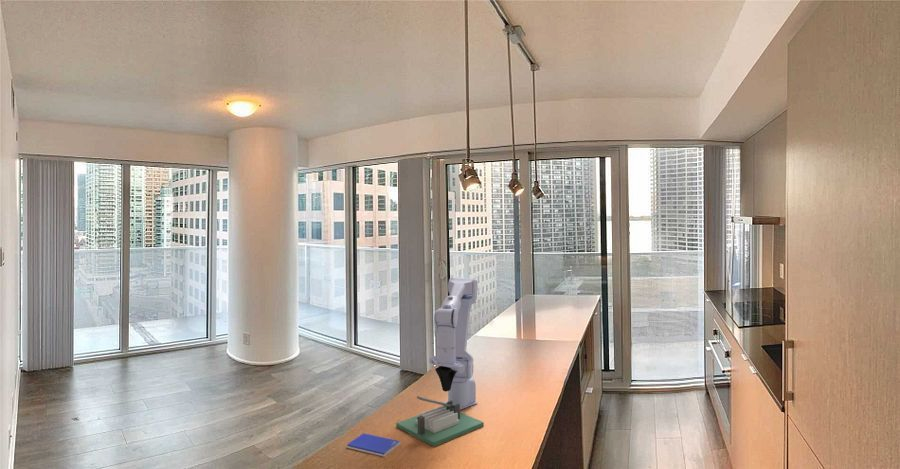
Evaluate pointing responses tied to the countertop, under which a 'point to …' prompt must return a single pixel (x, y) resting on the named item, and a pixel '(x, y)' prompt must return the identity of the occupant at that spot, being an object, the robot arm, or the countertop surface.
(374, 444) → the hard drive
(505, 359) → the countertop surface
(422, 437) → the heatsink board
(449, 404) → the long grey plank
